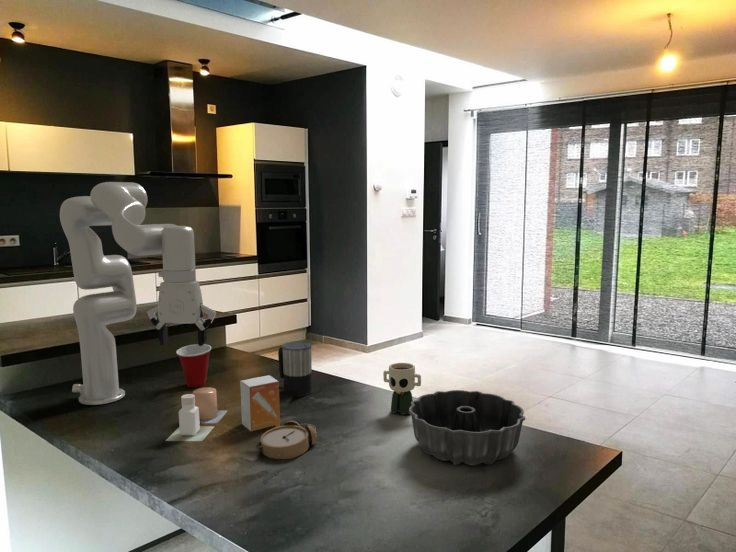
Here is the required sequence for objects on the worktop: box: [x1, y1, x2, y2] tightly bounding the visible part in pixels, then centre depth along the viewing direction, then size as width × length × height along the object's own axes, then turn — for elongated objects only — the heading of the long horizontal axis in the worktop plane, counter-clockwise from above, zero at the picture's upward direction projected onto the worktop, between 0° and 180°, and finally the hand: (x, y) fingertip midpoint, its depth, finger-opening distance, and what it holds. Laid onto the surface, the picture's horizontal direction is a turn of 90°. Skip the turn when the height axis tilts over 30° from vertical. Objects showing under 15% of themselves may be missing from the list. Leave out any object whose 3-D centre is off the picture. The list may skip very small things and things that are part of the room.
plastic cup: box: [175, 343, 212, 388], centre depth 185 cm, size 11×11×12 cm
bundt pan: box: [408, 389, 526, 466], centre depth 135 cm, size 26×26×10 cm
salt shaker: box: [178, 393, 201, 436], centre depth 143 cm, size 4×4×10 cm
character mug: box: [382, 362, 422, 415], centre depth 158 cm, size 11×7×13 cm, turn 66°
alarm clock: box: [258, 420, 319, 460], centre depth 138 cm, size 11×5×15 cm
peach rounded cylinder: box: [192, 386, 218, 421], centre depth 154 cm, size 6×6×7 cm
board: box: [165, 409, 228, 442], centre depth 149 cm, size 14×22×2 cm, turn 176°
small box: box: [239, 375, 281, 432], centre depth 148 cm, size 8×6×13 cm
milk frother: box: [277, 341, 314, 397], centre depth 175 cm, size 14×16×15 cm
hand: (183, 344), depth 145 cm, fingers open, 9 cm apart
